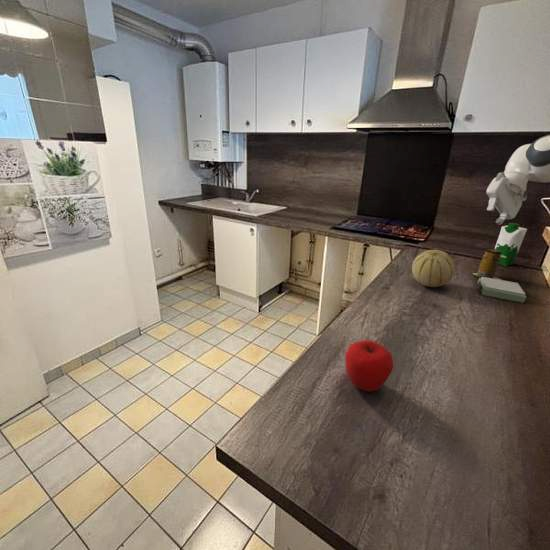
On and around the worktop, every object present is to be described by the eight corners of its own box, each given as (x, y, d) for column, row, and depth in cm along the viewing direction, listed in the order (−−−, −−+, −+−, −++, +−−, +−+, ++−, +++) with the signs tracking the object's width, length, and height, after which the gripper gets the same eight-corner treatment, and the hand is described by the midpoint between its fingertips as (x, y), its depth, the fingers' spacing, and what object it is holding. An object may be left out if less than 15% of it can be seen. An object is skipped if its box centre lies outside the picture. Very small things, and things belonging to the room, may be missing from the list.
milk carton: (487, 261, 146) (501, 222, 138) (496, 258, 150) (510, 220, 142) (507, 267, 139) (522, 226, 131) (516, 264, 143) (531, 224, 135)
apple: (335, 387, 64) (341, 347, 60) (350, 364, 72) (356, 326, 67) (380, 409, 59) (390, 367, 55) (391, 381, 67) (401, 342, 62)
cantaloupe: (447, 282, 120) (457, 247, 114) (450, 296, 108) (462, 258, 102) (409, 275, 126) (417, 241, 120) (407, 288, 113) (416, 251, 107)
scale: (515, 290, 115) (518, 282, 114) (524, 303, 105) (527, 294, 104) (476, 283, 120) (478, 275, 119) (480, 294, 111) (483, 286, 109)
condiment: (484, 272, 131) (493, 247, 127) (502, 280, 124) (512, 253, 119) (471, 273, 130) (480, 248, 125) (488, 281, 122) (498, 254, 117)
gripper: (511, 168, 103) (493, 202, 103) (528, 199, 114) (512, 230, 113) (491, 170, 108) (474, 202, 108) (509, 199, 119) (494, 229, 119)
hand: (494, 217), depth 111 cm, fingers open, 8 cm apart
